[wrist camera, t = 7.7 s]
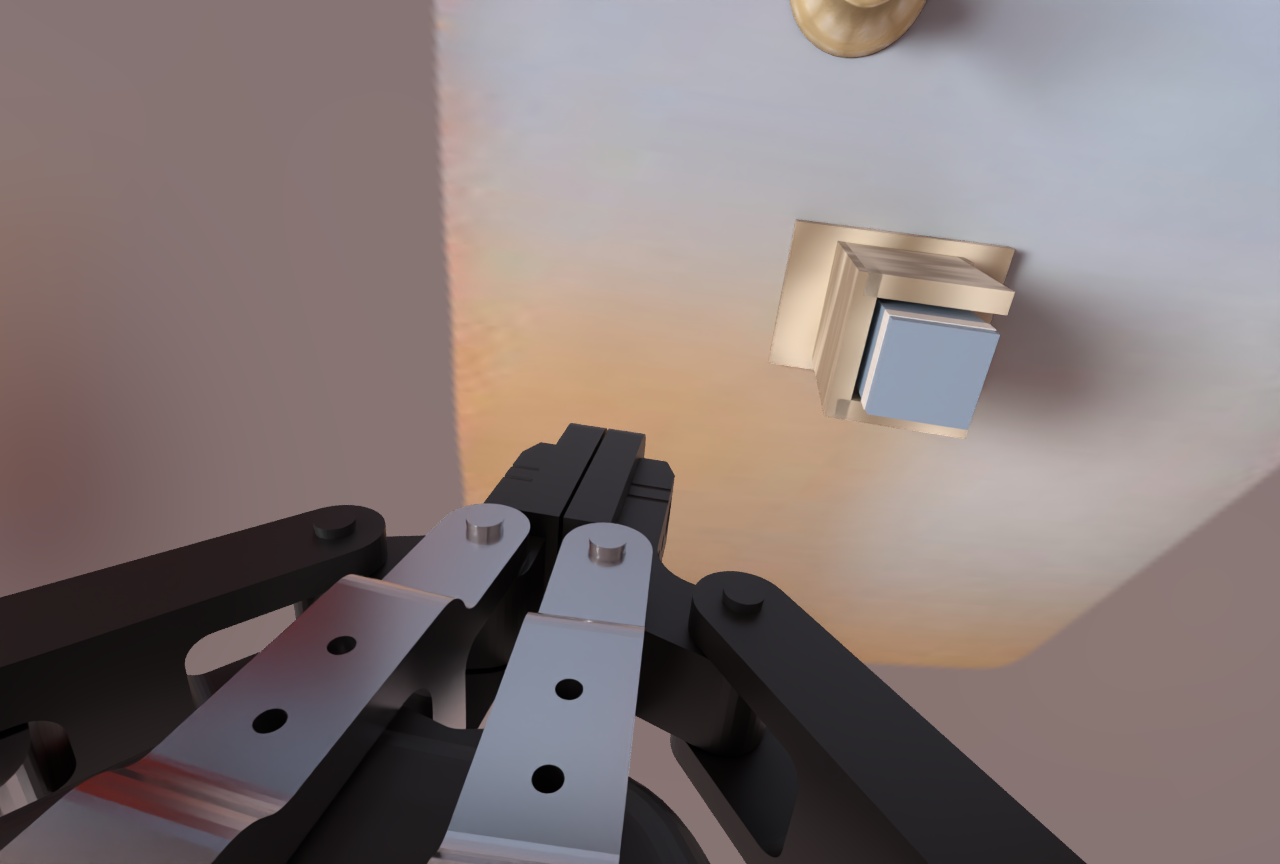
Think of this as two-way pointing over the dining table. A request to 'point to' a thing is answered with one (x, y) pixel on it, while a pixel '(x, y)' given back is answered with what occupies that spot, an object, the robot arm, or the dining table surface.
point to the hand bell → (854, 23)
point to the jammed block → (924, 363)
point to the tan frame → (873, 301)
